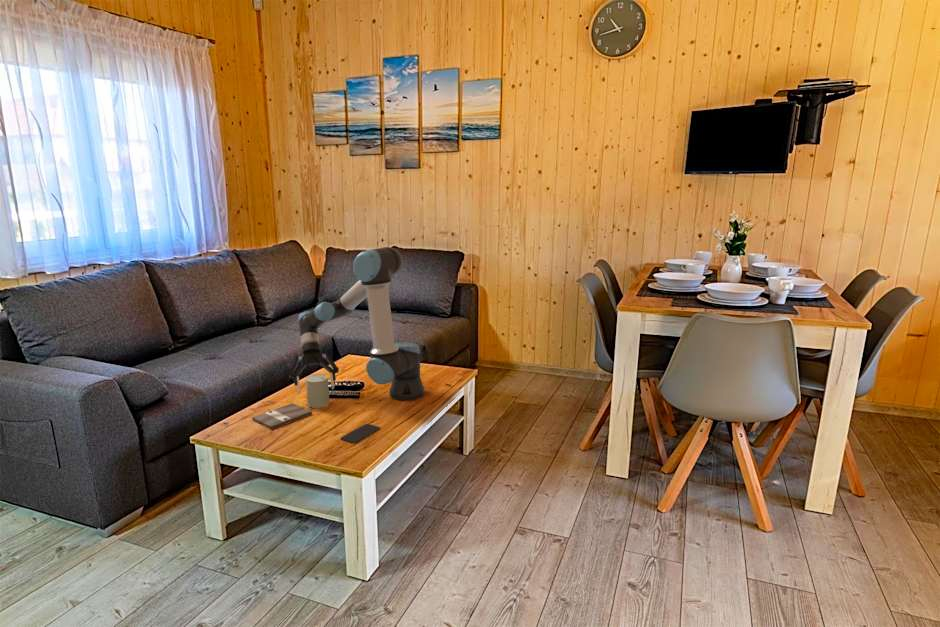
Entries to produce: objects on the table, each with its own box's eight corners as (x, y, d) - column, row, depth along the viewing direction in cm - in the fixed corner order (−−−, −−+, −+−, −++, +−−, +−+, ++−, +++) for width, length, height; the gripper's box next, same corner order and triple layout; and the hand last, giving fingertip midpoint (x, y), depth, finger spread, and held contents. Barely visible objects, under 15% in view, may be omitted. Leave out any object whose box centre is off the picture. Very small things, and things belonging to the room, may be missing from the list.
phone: (381, 427, 210) (354, 443, 197) (381, 429, 210) (354, 445, 197) (366, 423, 213) (339, 438, 201) (366, 425, 213) (339, 440, 201)
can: (323, 409, 226) (322, 381, 224) (302, 407, 228) (300, 379, 225) (333, 400, 235) (332, 373, 232) (313, 398, 237) (311, 372, 234)
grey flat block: (311, 414, 222) (311, 410, 221) (271, 429, 208) (271, 425, 208) (292, 405, 230) (292, 402, 229) (252, 420, 216) (252, 416, 216)
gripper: (339, 346, 248) (346, 389, 238) (280, 352, 239) (284, 397, 229) (340, 338, 241) (347, 382, 232) (280, 343, 233) (284, 390, 223)
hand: (316, 390), depth 230 cm, fingers open, 13 cm apart
